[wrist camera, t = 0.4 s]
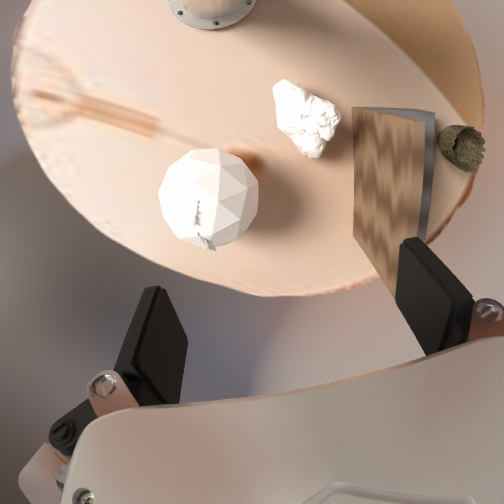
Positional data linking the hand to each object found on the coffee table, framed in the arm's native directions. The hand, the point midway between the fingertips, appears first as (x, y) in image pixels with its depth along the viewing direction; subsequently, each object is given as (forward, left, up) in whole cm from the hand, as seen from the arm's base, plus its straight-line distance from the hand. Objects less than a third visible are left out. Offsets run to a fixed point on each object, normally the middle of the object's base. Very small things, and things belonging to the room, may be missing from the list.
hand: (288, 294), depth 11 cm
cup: (+1, +33, -36) cm, 49 cm away
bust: (-3, +7, -36) cm, 37 cm away
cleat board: (+7, +22, -36) cm, 42 cm away
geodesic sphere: (+6, -7, -36) cm, 37 cm away
